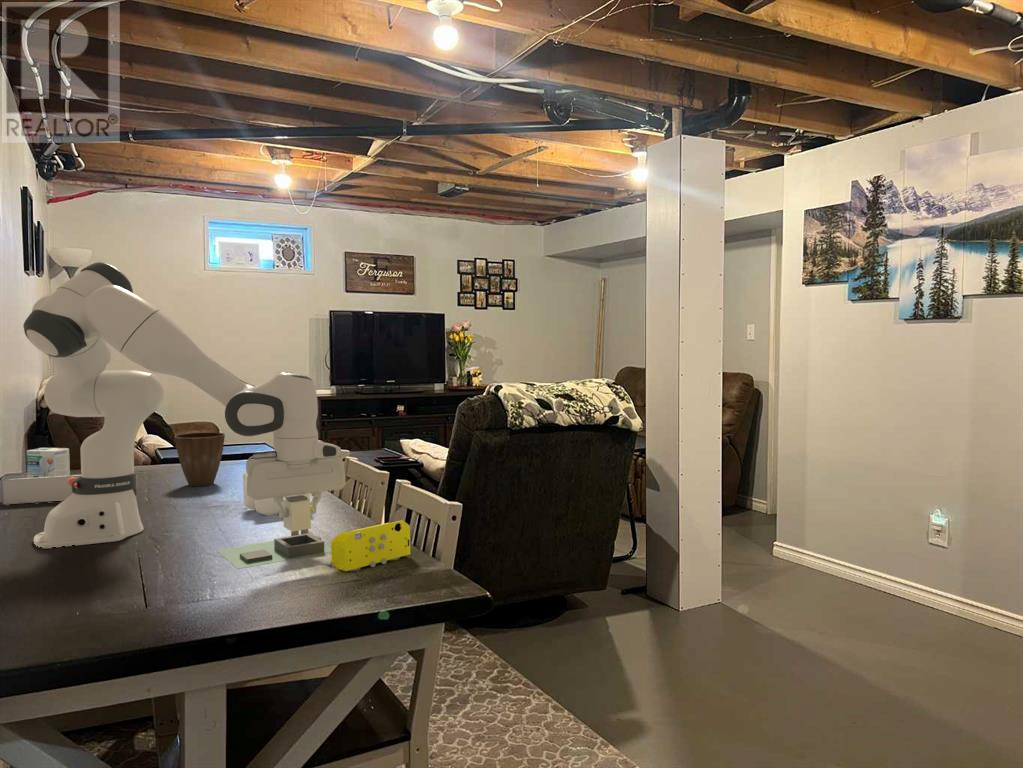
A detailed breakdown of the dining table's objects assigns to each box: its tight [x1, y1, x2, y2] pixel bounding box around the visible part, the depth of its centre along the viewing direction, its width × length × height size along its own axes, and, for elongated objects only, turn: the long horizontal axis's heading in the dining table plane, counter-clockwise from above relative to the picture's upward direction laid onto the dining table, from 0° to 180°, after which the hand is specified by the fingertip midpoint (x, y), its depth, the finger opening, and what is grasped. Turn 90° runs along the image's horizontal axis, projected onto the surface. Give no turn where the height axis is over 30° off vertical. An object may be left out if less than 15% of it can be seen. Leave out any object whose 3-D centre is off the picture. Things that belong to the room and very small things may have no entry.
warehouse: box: [1, 474, 81, 505], centre depth 218 cm, size 30×14×8 cm, turn 111°
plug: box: [283, 494, 312, 532], centre depth 154 cm, size 4×5×7 cm
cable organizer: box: [242, 470, 311, 516], centre depth 199 cm, size 15×11×12 cm
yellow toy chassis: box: [330, 519, 411, 572], centre depth 151 cm, size 16×6×8 cm, turn 136°
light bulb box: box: [26, 447, 71, 478], centre depth 243 cm, size 11×7×11 cm, turn 81°
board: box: [215, 529, 331, 570], centre depth 155 cm, size 20×16×4 cm
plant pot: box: [174, 431, 226, 487], centre depth 236 cm, size 15×15×16 cm
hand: (297, 515), depth 154 cm, fingers closed on plug, 4 cm apart
